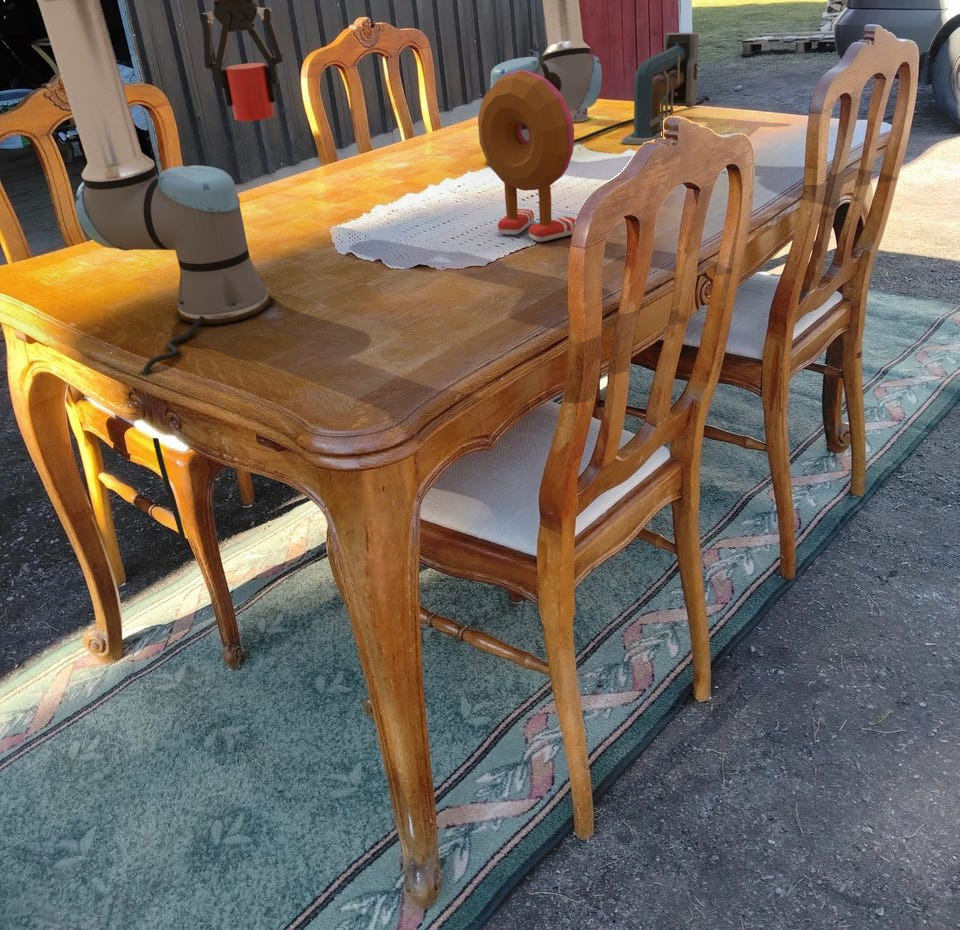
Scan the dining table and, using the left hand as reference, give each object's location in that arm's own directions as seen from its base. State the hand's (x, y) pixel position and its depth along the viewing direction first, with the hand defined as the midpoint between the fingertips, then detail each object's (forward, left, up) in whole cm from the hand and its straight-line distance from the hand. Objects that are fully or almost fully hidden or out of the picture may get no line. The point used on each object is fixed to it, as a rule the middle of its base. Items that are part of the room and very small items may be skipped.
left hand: (252, 102), depth 195 cm
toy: (-2, -58, -25) cm, 64 cm away
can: (0, 0, -3) cm, 3 cm away
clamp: (+88, -70, -25) cm, 115 cm away
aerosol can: (+101, -44, -25) cm, 113 cm away
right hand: (+31, -69, +16) cm, 78 cm away
